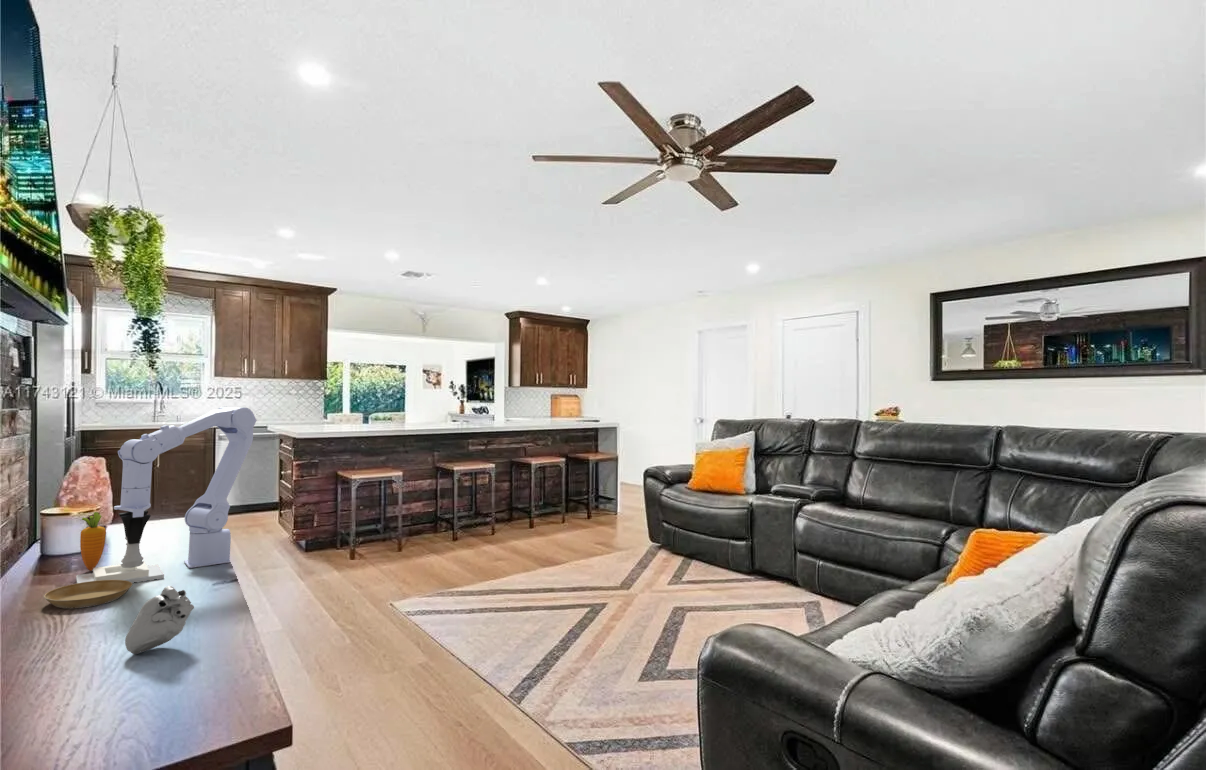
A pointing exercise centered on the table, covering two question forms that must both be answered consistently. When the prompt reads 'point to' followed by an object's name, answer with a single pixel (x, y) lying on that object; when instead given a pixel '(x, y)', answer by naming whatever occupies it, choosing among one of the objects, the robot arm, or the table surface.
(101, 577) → the holder stand
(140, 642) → the heart
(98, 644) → the table surface
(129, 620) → the table surface
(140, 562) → the rook chess piece
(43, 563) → the table surface
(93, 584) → the plant saucer
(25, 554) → the table surface
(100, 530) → the carrot
